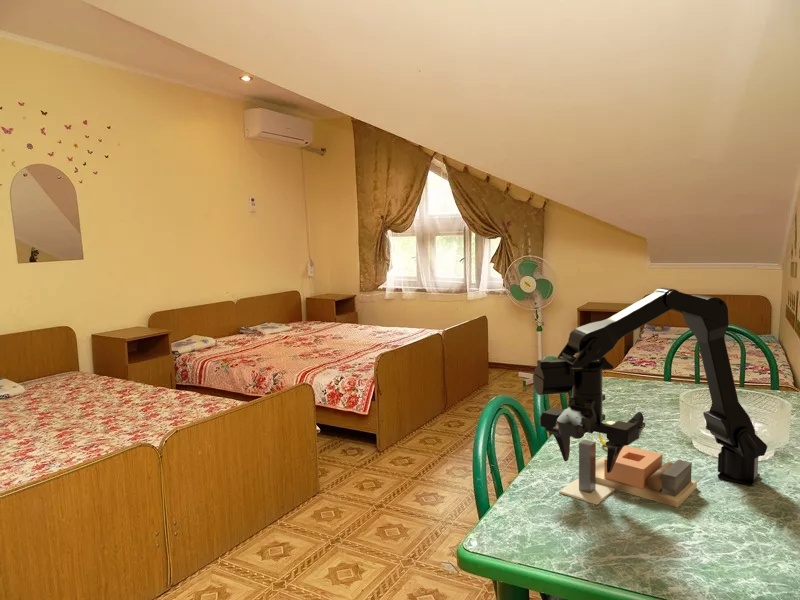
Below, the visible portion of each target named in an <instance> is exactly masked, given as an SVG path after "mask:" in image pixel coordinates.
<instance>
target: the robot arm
mask: <svg viewBox="0 0 800 600" xmlns="http://www.w3.org/2000/svg"><path fill="white" fill-rule="evenodd" d="M670 311H674V312H676V313H677V312H678V313H680V314H682V317H683V319H684V321H685V323H686V326H687V328H688V329H689V330H690V331H691V333H692V334H693V335H694V337H695V338H696V340H697V343H698V347H699V351H700V357H701V360H702V361H701V362H702V365H703V369H704V372H705V373H704V374H705V378H706V382H707V386H708V390H709V395H710V399H711V405H710V408H709V410H708V411H704V412H703V414H702V416H703V417H704V420H705V424H706V425H705V429H706V430H708V431H709V432H710V434H711V435H712V436H713V437H714V440H715V442H716V443H717V444H719V445H721V447H720V449H721V450H720V452H718V453H717V472H718V473H719V474H717V478H718V479H721V480H725V481H730V482H732V483H733V482H734V483H737V484H742V485H746V486H749V487H752V486H754V485H755V483H756V482H757V481H758V480H759V478H760V477H761V474H760V473H759V457H764V456H765V455H766V452H767V450H768V445H767V444H766V443H765V442H764V441H763V440H762V439H761V438H760V437H759V436H758V435H757V434H756V429H755V426H754V424H753V422H752V419H751V417H750V415H749V414H748V413H747V411H746V410H745V408H744V407H743V405H742V404H741V403H740V401H739V397H738V393H737V389H736V384H735V379H734V375H733V370H732V366H731V363H730V357H729V353H728V347H727V343H726V338H725V335H726V334H727V331H728V328H729V324H730V318H729V307H728V304H727V303H726V301H725V300H723V299H722V298H719V297H714V296H709V295H705V294H704V295H702V294H697V293H696V294H695V293H694V294H687V293H684V292H681V291H679V290H677V289H675V288H668V287H659V288H657V289H655V290H654V291H653V293H651V294H649V295H647V296H645V297H643V298H642V299H640V300H638V301H636V302H634V303H633V304H630V306H629V305H628V306H627V307H626V308H624V309H623V310H621V311H619V312H617V313H615V314H612V316H610V317H608V318H606V319H603V320H598V321H594V322H589V323H586V324H584V325H581V326H578V327H576V328H574V329H573V330H571V331H570V333H569V337H568V340H567V343H566V344H565V346H564V347H563V348H562V350H561V351H560V353H559V354H558V355H557V356H556V357H557V359H550V360H549V359H548V360H547V359H538V360H537V364H536V365H537V366H535V368H534V370H533V371H534V372H533V374H532V380H533V381H532V382H533V387H534V390H535V392H536V395H538V396H544V395H545V396H547V395H561V394H568V393H569V392H570V391H572V395H571V396H569V397H568V405H567V407H566V408H565V409H563V408H558V407H551V408H549V409H547V410H545V411H543V412H541V414H540V416H539V426H540V427H543V428H544V429H545V431H546V432H549V433H550V434H552V436H554V438H555V440H556V442H557V445H558V448H559V450H560V453H561V455H562V458H563V461H564V462H567V461H569V458H570V453H571V452H570V450H571V449H570V448H571V446H570V445H571V437H572V438H573V439H576V440H580V439H581V438H583V437H584V436H585V434H586V433H589V434H593V433H594V432H596V433H598V434H599V433H600V434H603V435H604V434H605V435H606V439H607V441H606V442H605V444H606V446H605V447H606V448H607V451H606V452H607V454H606V458H607V472H608V473H610V472H611V471H612V469H613V466H614V464H615V462H616V460H617V458H618V455H619V453H620V451H621V450H622V448H623V447H624V446H630V445H631V444H632V443H634V442H635V441H637V440H638V439H639V438H640V429H638V427H637V426H636V424H632V423H627V422H628V421H627V422H626V421H622V420H617V421H614V422H615V423H614V424H612V425H609V424H606V423H603V422H604V421H605V420H606V414H603V402H604V401H605V400H606V394H603V370H605V371H606V370H614V365H613V364H612V363H610V362H609V361H608V360H607V358H606V357H605V356H606V355H607V354H609V353H610V352H611V351H612V350H613V349H615V347H616V345H617V344H618V342H619V341H620V340H621V339H623V338H624V337H626V336H628V335H629V334H631V333H632V332H634V331H637V329H640V328H641V327H644V326H645V325H646V324H649V323H651V322H652V321H654V320H655V319H657V318H659V317H660V316H662V315H664V314H666V313H667V312H670ZM575 355H577V356H575Z"/></svg>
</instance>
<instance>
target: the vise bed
mask: <svg viewBox="0 0 800 600" xmlns="http://www.w3.org/2000/svg"><path fill="white" fill-rule="evenodd" d="M606 458H607V457H605V456H602V457H600V458H598V459H597V460H596V483H597V484H600V485H604V486H607V487H611V488H614V489H615V491H619V492H622V493H626V494H629V495H633V496H636V497H639V496H640V498H643V499H646V498H647V499H646V500H649V501H653V500H654V502H658V503H660V504H664V505H668V506H672V507H674V508H678V507H680V505H682V503H684V501H685V500H687V498H688V497H689V496H690V495H691V494H693V492H694V491H696V489H697V485H698V484H697V483H698V482H697V480H694V479H692V468H693V467H692V462H691V461H687V460H684V459H678V460H676V461H675V462H674V463H673V462H670V461H667V462H665V463H664V464H662V467H660V468H659V469H658V470H657V471H655V472H654V473H653V474H652V475H651V476H649V477H648V478H647V481H646V483H647V486H646V487H645V488H643V489H642V488H639V487H635V486H632V485H628V484H624V483H621V482H617V481H614V480H610V479H607V478H604V459H606Z"/></svg>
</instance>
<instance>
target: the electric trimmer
mask: <svg viewBox="0 0 800 600" xmlns="http://www.w3.org/2000/svg"><path fill="white" fill-rule="evenodd" d="M644 418H645V417H644V414H643V413H642V412H641V411H637V412H636V413H635V414H634V415H633V416H632V417H631V418H630V419H629V420H627V423H632V424H636V426H637V427H638V429H639V430H640V429H642V427H643V423H644V420H645V419H644Z"/></svg>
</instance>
